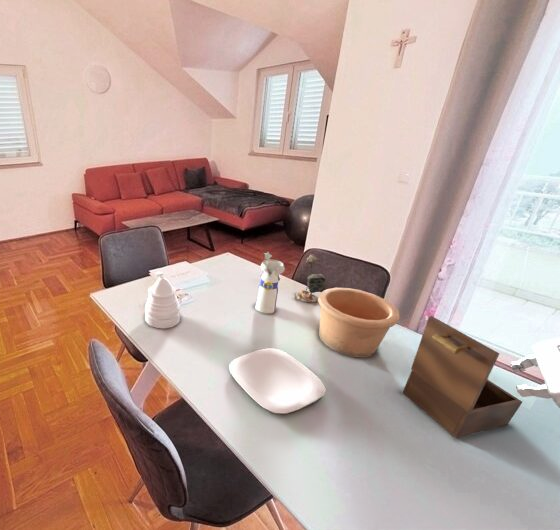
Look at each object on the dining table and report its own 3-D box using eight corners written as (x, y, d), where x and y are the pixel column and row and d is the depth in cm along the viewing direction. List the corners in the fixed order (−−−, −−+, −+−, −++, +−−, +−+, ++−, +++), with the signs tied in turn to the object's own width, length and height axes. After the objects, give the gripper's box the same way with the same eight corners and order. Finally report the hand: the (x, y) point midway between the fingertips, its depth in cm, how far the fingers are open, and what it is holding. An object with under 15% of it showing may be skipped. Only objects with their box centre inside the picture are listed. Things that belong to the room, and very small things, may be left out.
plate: (272, 425, 75) (273, 420, 74) (219, 367, 92) (220, 363, 92) (335, 395, 83) (336, 390, 82) (275, 347, 101) (276, 342, 100)
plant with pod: (322, 307, 123) (333, 260, 115) (291, 299, 129) (300, 254, 120) (324, 298, 129) (335, 253, 121) (295, 291, 135) (304, 248, 127)
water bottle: (275, 316, 117) (287, 254, 107) (252, 311, 120) (261, 251, 110) (278, 305, 124) (289, 247, 114) (256, 301, 127) (264, 243, 117)
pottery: (311, 316, 117) (319, 282, 111) (380, 331, 109) (392, 295, 103) (309, 351, 99) (318, 312, 93) (391, 372, 91) (408, 331, 85)
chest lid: (431, 315, 73) (415, 319, 73) (499, 353, 61) (481, 358, 61) (413, 368, 80) (398, 372, 80) (471, 411, 68) (455, 416, 68)
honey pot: (138, 315, 118) (137, 272, 111) (167, 305, 124) (167, 264, 117) (157, 332, 108) (156, 286, 101) (186, 321, 114) (188, 277, 107)
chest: (448, 383, 87) (459, 361, 84) (507, 425, 75) (522, 401, 71) (402, 392, 84) (411, 370, 81) (455, 438, 72) (469, 413, 68)
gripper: (647, 414, 52) (533, 422, 62) (605, 351, 67) (517, 366, 76) (619, 381, 53) (511, 394, 63) (584, 326, 67) (500, 344, 77)
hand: (514, 378), depth 70 cm, fingers open, 8 cm apart
